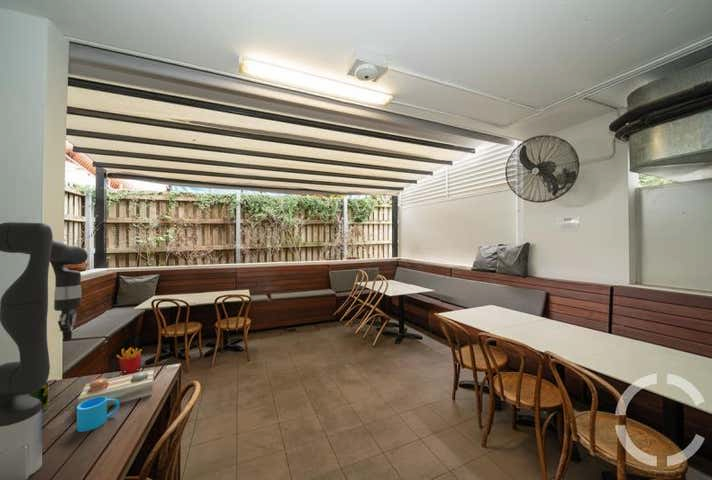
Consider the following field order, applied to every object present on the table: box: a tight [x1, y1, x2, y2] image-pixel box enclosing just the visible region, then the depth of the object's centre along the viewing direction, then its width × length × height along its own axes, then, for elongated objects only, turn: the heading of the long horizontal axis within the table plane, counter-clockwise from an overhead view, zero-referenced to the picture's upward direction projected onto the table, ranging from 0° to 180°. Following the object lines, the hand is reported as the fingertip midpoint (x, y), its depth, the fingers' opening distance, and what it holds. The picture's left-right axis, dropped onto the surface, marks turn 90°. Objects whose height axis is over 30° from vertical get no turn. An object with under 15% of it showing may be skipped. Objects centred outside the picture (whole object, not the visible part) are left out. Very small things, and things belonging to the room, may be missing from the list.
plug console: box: [77, 368, 155, 407], centre depth 122 cm, size 14×24×6 cm, turn 125°
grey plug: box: [132, 371, 147, 382], centre depth 126 cm, size 5×5×7 cm
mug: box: [76, 397, 121, 433], centre depth 105 cm, size 12×8×8 cm
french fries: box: [116, 347, 143, 376], centre depth 138 cm, size 9×8×15 cm
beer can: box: [28, 379, 50, 412], centre depth 112 cm, size 5×5×12 cm
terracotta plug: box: [90, 377, 108, 392], centre depth 118 cm, size 5×5×7 cm
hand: (67, 340), depth 109 cm, fingers closed
